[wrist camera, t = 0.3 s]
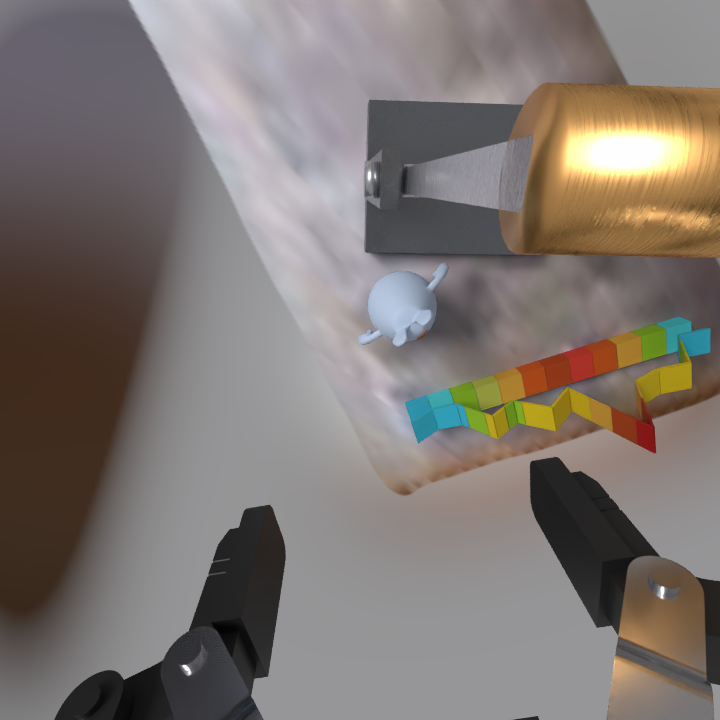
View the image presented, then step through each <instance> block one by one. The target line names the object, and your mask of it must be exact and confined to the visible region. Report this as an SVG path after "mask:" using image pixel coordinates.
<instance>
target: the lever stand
mask: <svg viewBox="0 0 720 720" xmlns="http://www.w3.org/2000/svg"><path fill="white" fill-rule="evenodd" d="M522 107H523V105H511V104H480V103H448V102H417V101H386V100H369V102H368V119H367V160H366V161H365V167H364V198H366V201H365V241H364V250H365V252H373V253H436V254H500V255H524V254H515V253H513V252H511V251H510V250H509V249H508V247H507V246H506V244H505V242H504V239H503V236H502V233H501V228H500V222H499V209H494V208H488V207H482V206H476V205H469V204H463V203H457V202H451V201H445V200H439V199H433V198H425V197H402V195H401V178H402V169H403V165H404V164H421V163H425V162H429V161H433V160H436V159H440V158H444V157H448V156H452V155H456V154H460V153H464V152H468V151H472V150H475V149H479V148H483V147H487V146H491V145H495V144H499V143H503V142H507V141H509V138H510V135H511V132H512V129H513V126H514V124H515V121H516V119H517V117H518V115H519V113H520V111H521V109H522Z"/></svg>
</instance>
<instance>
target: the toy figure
mask: <svg viewBox="0 0 720 720" xmlns="http://www.w3.org/2000/svg"><path fill="white" fill-rule="evenodd" d="M448 268H449V267H448V264H446V263H441V264H440V265H439V266H438V269H437V270H436V271H435V272H433V273H432V276H433V277H434V280H433V281H432V282H431V283H430V284H429V283H428V282H427V281H426V280H425V279H424V278H423V277H421V276H419V275H418V274H415V273H412V272H408V271H397V272H393V273H390V274H388V275H386V276H384V277H383V278H381V279H380V280H379V281H378V282H377V283H376V284H375V286H374V287H373V289H372V291H371V293H370V296H369V300H368V312H369V316H370V319H371V321H372V323H373V325H374V326H375V327H376V329H377V331H376V332H374V333H373V332H372V331H371V330H368V331H367V333H366V334H362V335H360V336H359V338H358V342H359V343H360V344H361V345H366V344H369V343H370V342H372V341H373V340H375V339H377V338H378V337H380V336H381V335H384V336H386V337H388V338H390V339H392V340H393V343H394V345H395V346H397V347H399V346H401V345H403V344H404V343H405V342H409V341H413V340H416V339H420V338H422V337H423V336H424V335H425V334H426V333H427V332H428V331H429V330H430V329H431V328H432V326H433V324H434V322H435V319H436V311H437V301H436V296H435V293H434V291H433V290H434V289H435V288H436V286H437V285H438V284H439V283H440V282H441V280H442V279H443V278H444V277H445V276H446V274H447V272H448Z"/></svg>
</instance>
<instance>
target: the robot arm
mask: <svg viewBox="0 0 720 720" xmlns="http://www.w3.org/2000/svg"><path fill="white" fill-rule="evenodd" d="M530 491H531V492H530V494H531V495H530V497H531V506H532V510H533V513H534V516H535V518H536V520H537V522H538V524H539V526H540V528H541V529H542V531H543V533H544V535H545V536H546V538H547V540H548V542H549V543H550V545H551V547H552V548H553V551H554V552H555V554H556V556H557V558H558V559H559V561H560V563H561V565H562V567H563V568H564V570H565V572H566V574H567V575H568V577H569V579H570V581H571V583H572V584H573V586H574V588H575V590H576V591H577V593H578V595H579V597H580V598H581V600H582V602H583V604H584V605H585V607H586V609H587V611H588V613H589V614H590V616H591V618H592V620H593V621H594V623H595V625H596V627H605V626H611V625H612V626H613V628H614V630H615V631H616V633H617V635H618V642H617V648H616V655H615V662H614V670H613V677H612V684H611V691H610V698H609V705H608V713H607V720H714V705H713V692H712V687H711V684H710V683H713V684H718V685H720V581H713V580H706V579H701V578H698V577H695V576H694V575H693V574H692V573H691V572H690V571H688V570H687V569H686V568H684V567H683V566H681V565H680V564H678V563H675V562H674V561H671V560H668V559H666V558H662V557H660V556H659V555H658V553H657V552H656V551H655V550H654V549H653V548H652V546H651V545H650V544H649V543H648V542H647V541H646V539H645V538H644V537H643V536H642V534H641V533H640V532H639V531H638V530H637V528H636V527H635V526H634V525H633V524H632V522H631V521H630V520H629V519H628V518H627V516H626V515H625V514H624V513H623V512H622V510H619V507H618V506H617V504H616V503H615V502H614V501H613V500H612V499H610V497H609V495H608V494H607V493H606V491H605V490H604V489H603V488H602V487H601V485H600V484H599V483H598V482H597V481H595V480H594V479H592V478H591V477H589V476H587V475H586V474H584V473H583V472H581V471H579V472H573V473H570V471H569V470H568V469H567V468H566V466H565V465H564V464H563V462H562V461H561V460H560V459H559V458H558V457H553V458H547V459H541V460H535V461H532V462H531V463H530ZM285 555H286V554H285V544H284V540H283V537H282V534H281V531H280V528H279V525H278V523H277V520H276V517H275V514H274V511H273V509H272V507H271V506H270V505H265V506H259V507H254V508H248V509H245V510H244V513H243V516H242V519H241V522H240V526H239V528H235V529H230V530H229V531H228V532H227V534H226V535H225V536H224V538H223V539H222V540H221V542H220V543H219V544H218V547H217V550H216V553H215V556H214V559H213V563H212V565H211V568H210V571H209V577H207V579H206V582H205V585H204V588H203V591H202V594H201V597H200V600H199V603H198V606H197V609H196V612H195V615H194V618H193V621H192V624H191V626H190V629H189V631H188V632H186V633H185V634H183V635H182V636H181V637H180V638H178V639H177V640H176V641H175V643H173V645H172V646H171V647H170V648H169V650H168V652H167V653H166V655H165V657H164V659H163V661H161V662H159V663H158V664H156V665H154V666H152V667H150V668H148V669H146V670H144V671H141V672H140V673H137V674H135V675H133V676H131V677H129V678H127V679H125V680H124V679H123V678H122V677H121V675H120V674H119V673H118V672H116V671H112V670H107V671H102V672H99V673H97V674H95V675H93V676H91V677H89V678H88V679H86V680H85V681H83V682H82V683H81V684H80V685H79V686H78V687H76V688H75V689H74V690H73V692H72V693H71V694H70V695H69V696H68V698H67V699H66V700H65V701H64V703H63V704H62V706H61V708H60V710H59V711H58V713H57V715H56V717H55V720H263V718H262V716H261V714H260V712H259V710H258V708H257V706H256V704H255V702H254V700H253V699H252V697H251V693H252V688H253V682H254V679H255V678H262V677H267V676H268V673H269V667H270V660H271V653H272V647H273V640H274V633H275V626H276V620H277V613H278V607H279V600H280V593H281V587H282V580H283V573H284V567H285V558H286V556H285ZM515 720H539V718H538V716H536V717H529V718H522V719H515Z"/></svg>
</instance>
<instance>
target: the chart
mask: <svg viewBox="0 0 720 720" xmlns="http://www.w3.org/2000/svg"><path fill="white" fill-rule="evenodd" d="M676 351H678V359H679V362H680V364H675V365H670V366H665V367H660V368H657V369H654V370H653V371H651V372H649V373H648V374H646V375H644V376H642V377H641V378H639V379H637V380H636V381H635V389H636V402H637V407H638V410H639V413H640V416H641V419H642V421H640V420H638V419H636V418H634V417H632V416H629V415H627V414H625V413H623V412H621V411H618V410H616V409H614V408H612V407H609V406H607V405H605V404H603V403H601V402H599V401H596V400H594V399H592V398H590V397H588V396H586V395H584V394H581V393H579V392H577V391H575V390H573V389H570V388H568V387H566V388H565V390H564V391H563V392H562V393H561V395H560V396H559V397H558V398H557V399H556V401H555V402H554V403H553V404H552V405H551V406H546V405H540V404H534V403H528V402H522V401H521V402H520V401H516V400H518V399H521V398H524V397H528V396H531V395H534V394H537V393H541V392H544V391H547V390H550V389H554V388H557V387H560V386H564V385H567V384H570V383H573V382H577V381H580V380H583V379H586V378H590V377H593V376H596V375H600V374H603V373H606V372H609V371H613V370H616V369H618V368H623V367H626V366H629V365H632V364H636V363H639V362H642V361H646V360H649V359H652V358H656V357H659V356H662V355H666V354H669V353H673V352H676ZM706 353H710V329H709V328H704V329H700V330H695V331H691V321H689V320H686V319H684V318H681V317H676V318H673V319H670V320H666V321H663V322H660V323H657V324H654V325H650V326H647V327H644V328H641V329H638V330H634V331H631V332H628V333H625V334H622V335H618V336H615V337H612V338H609V339H606V340H602V341H599V342H596V343H593V344H590V345H587V346H583V347H580V348H577V349H574V350H571V351H567V352H564V353H561V354H558V355H555V356H551V357H548V358H545V359H542V360H539V361H535V362H532V363H529V364H526V365H523V366H519V367H516V368H513V369H510V370H507V371H504V372H500V373H497V374H494V375H491V376H488V377H484V378H481V379H478V380H475V381H472V382H468V383H465V384H462V385H459V386H456V387H452V388H449V389H446V390H443V391H440V392H436V393H433V394H430V395H427V396H424V397H420V398H417V399H414V400H411V401H408V402H405V404H406V407H407V411H408V413H409V416H410V419H411V424H412V427H413V430H414V433H415V436H416V438H417V441H418V443H420V442H421V441H423V440H424V439H425V438H427V437H428V436H430V435H431V434H433V433H434V432H436V431H437V430H438V429H439V430H440V429H445V428H450V427H455V426H460V425H464V426H466V427H469V428H471V429H474V430H476V431H479V432H482V433H484V434H487V435H489V436H492V437H494V438H497V439H498V438H500V437H502V436H503V435H504V434H505V433H507V432H508V431H509V429H511V428H513V427H514V426H515V425H516V424H518V423H519V424H524V425H529V426H534V427H538V428H543V429H548V430H553V431H557V430H558V429H559V428H560V426H561V425H562V424H563V422H564V421H565V420H566V418H567V417H568V416H569V415H570V413H571V412H572V411H573V412H575V413H577V414H579V415H580V416H582V417H584V418H586V419H588V420H590V421H592V422H594V423H596V424H598V425H600V426H602V427H604V428H606V429H608V430H610V431H612V432H614V433H616V434H618V435H620V436H621V437H623V438H626V439H627V440H629V441H631V442H633V443H635V444H637V445H639V446H641V447H643V448H645V449H647V450H649V451H651V452H653V453H656V445H655V427H654V425H653V422H652V419H651V417H650V414H649V412H648V409H647V406H646V404H645V403H647V402H648V401H650V400H652V399H653V398H655V397H657V396H658V395H660V394H664V393H669V392H674V391H679V390H685V389H690V388H692V366H691V361H690V359H689V357H691V356H696V355H701V354H706ZM505 403H507V404H506V405H504V407H502V408H501V409H499V410H498V411H497V412H495V413H494V414H493V415H490V414H487V413H483V412H481V411H482V410H485V409H488V408H492V407H495V406H498V405H501V404H505ZM480 410H481V411H480ZM492 416H493V417H492ZM460 419H461V420H460ZM461 422H462V423H461ZM437 426H438V428H437Z"/></svg>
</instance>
